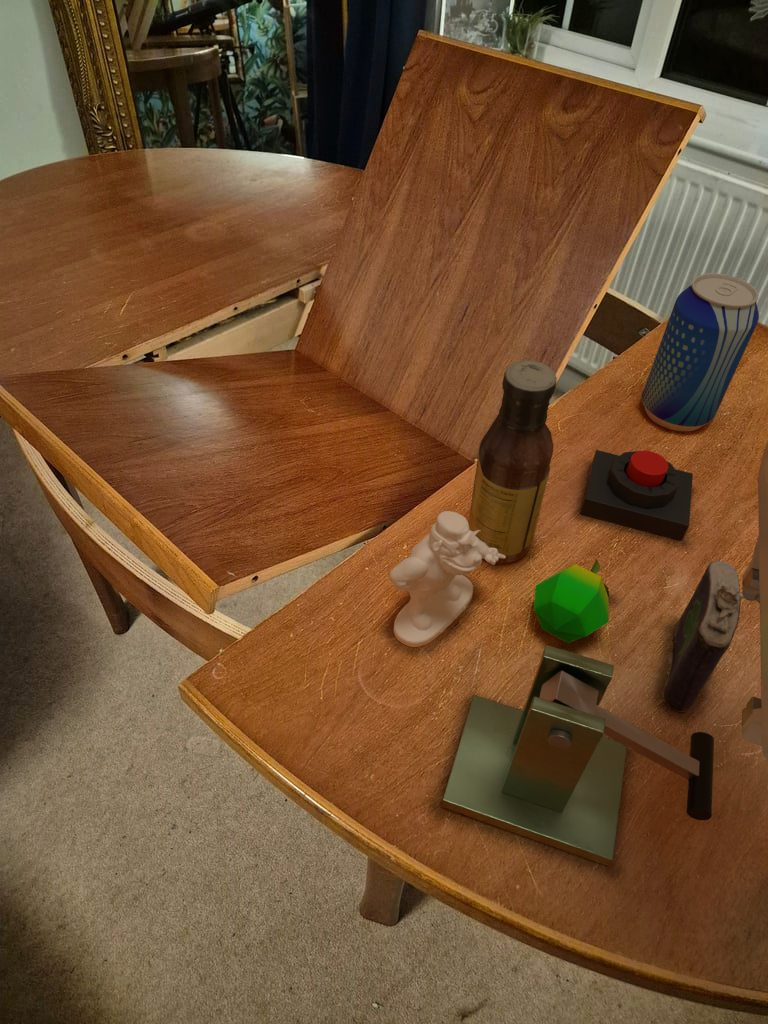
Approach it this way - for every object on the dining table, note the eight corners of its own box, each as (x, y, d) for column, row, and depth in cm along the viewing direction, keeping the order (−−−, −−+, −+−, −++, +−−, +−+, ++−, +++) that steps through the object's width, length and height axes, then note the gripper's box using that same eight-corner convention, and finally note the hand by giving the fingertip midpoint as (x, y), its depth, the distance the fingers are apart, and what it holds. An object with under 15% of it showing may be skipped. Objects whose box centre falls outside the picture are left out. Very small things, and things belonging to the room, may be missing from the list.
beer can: (724, 433, 85) (784, 308, 74) (656, 438, 84) (706, 312, 72) (691, 389, 91) (742, 267, 79) (627, 393, 89) (669, 270, 78)
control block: (686, 488, 78) (699, 460, 75) (681, 541, 73) (695, 512, 70) (591, 464, 80) (600, 436, 77) (579, 514, 75) (589, 485, 72)
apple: (570, 598, 58) (611, 527, 63) (506, 602, 62) (549, 536, 68) (609, 664, 60) (646, 591, 65) (545, 664, 65) (584, 595, 70)
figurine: (436, 667, 61) (452, 575, 53) (376, 624, 64) (381, 529, 56) (497, 602, 66) (521, 507, 58) (439, 564, 69) (453, 469, 61)
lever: (699, 748, 50) (724, 736, 49) (695, 825, 47) (722, 815, 45) (546, 664, 50) (565, 648, 48) (530, 735, 46) (550, 721, 44)
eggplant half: (673, 620, 66) (718, 539, 58) (707, 632, 65) (757, 551, 57) (658, 705, 60) (705, 628, 52) (695, 719, 59) (749, 642, 51)
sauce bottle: (502, 511, 74) (540, 340, 60) (543, 551, 71) (594, 379, 57) (450, 536, 72) (477, 363, 58) (490, 578, 68) (530, 406, 54)
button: (664, 468, 75) (669, 455, 73) (661, 491, 72) (667, 478, 71) (628, 459, 75) (632, 446, 74) (624, 482, 73) (629, 469, 72)
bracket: (623, 751, 57) (677, 657, 48) (608, 867, 51) (667, 785, 42) (471, 702, 59) (495, 604, 50) (440, 807, 53) (461, 717, 44)
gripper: (1045, 705, 23) (832, 866, 33) (933, 357, 37) (807, 544, 46) (827, 644, 24) (686, 816, 34) (798, 330, 38) (703, 518, 48)
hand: (756, 657), depth 40 cm, fingers open, 8 cm apart
